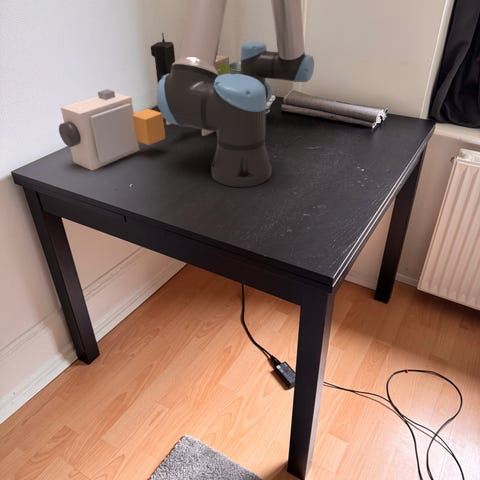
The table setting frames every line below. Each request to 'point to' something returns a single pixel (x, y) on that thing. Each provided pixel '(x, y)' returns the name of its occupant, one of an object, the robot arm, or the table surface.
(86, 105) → the camera housing
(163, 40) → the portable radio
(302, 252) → the table surface
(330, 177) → the table surface
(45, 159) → the table surface
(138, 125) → the side door
